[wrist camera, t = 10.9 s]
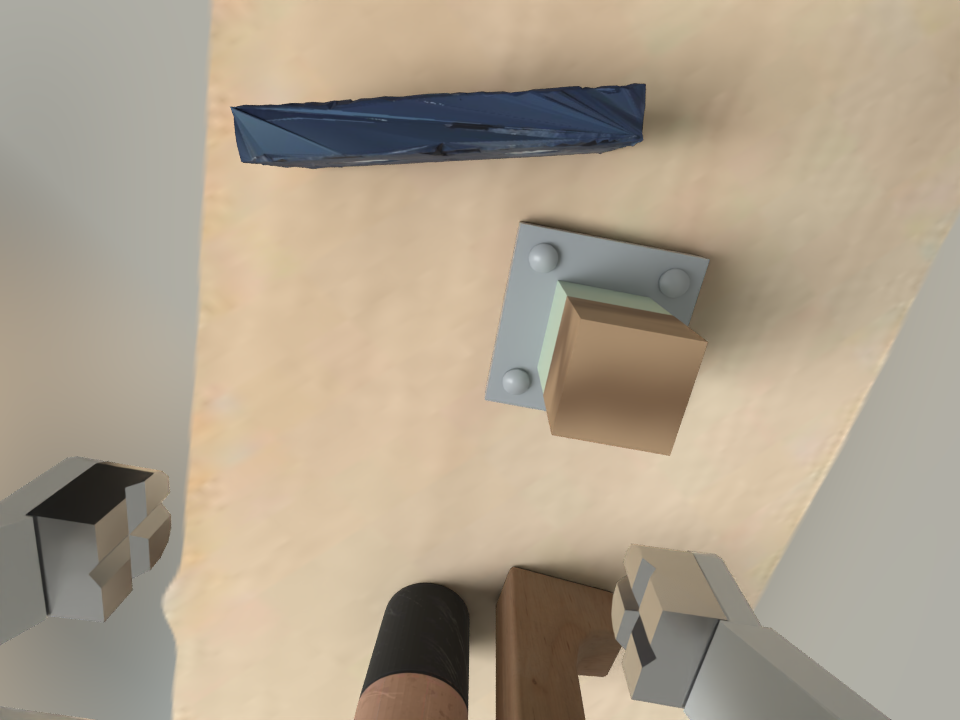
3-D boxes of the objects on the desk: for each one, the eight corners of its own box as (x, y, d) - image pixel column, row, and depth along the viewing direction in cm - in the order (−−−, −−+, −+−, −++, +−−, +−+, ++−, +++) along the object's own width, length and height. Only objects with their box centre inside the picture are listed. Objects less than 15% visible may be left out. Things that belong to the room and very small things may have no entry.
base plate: (519, 221, 34) (520, 223, 32) (700, 256, 35) (712, 260, 33) (485, 391, 38) (484, 402, 36) (648, 421, 38) (656, 433, 37)
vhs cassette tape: (604, 109, 32) (650, 81, 23) (602, 162, 33) (645, 156, 24) (302, 117, 33) (224, 93, 23) (309, 169, 34) (236, 166, 24)
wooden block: (615, 591, 43) (694, 857, 26) (596, 632, 45) (658, 910, 28) (510, 563, 43) (521, 818, 26) (494, 606, 44) (493, 874, 27)
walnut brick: (566, 295, 29) (580, 318, 24) (673, 315, 29) (708, 342, 25) (543, 395, 31) (551, 434, 26) (643, 413, 31) (669, 455, 26)
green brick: (557, 280, 34) (567, 296, 29) (649, 297, 34) (674, 316, 29) (537, 367, 36) (543, 396, 31) (624, 383, 36) (643, 414, 31)
